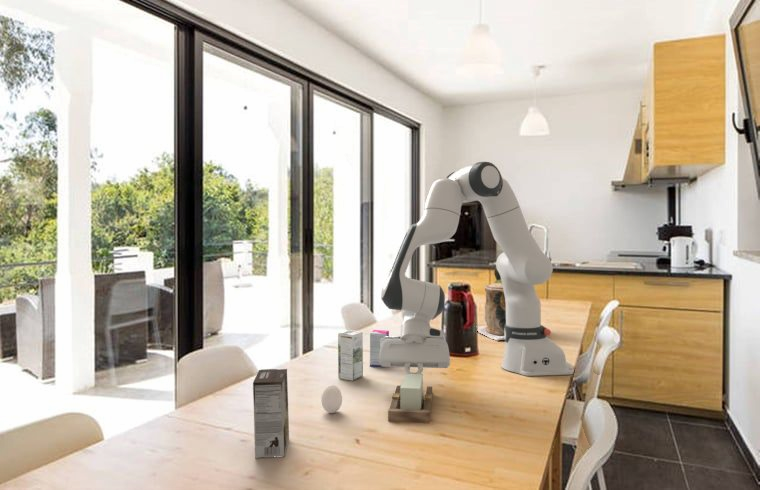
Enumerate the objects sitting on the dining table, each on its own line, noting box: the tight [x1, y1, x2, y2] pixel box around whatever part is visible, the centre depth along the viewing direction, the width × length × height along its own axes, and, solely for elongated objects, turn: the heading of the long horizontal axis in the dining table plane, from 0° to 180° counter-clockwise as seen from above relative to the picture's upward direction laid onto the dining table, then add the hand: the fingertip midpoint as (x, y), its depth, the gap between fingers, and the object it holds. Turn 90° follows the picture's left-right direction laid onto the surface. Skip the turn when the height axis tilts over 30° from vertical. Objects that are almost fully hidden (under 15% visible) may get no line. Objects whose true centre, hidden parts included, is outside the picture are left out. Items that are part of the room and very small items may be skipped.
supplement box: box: [369, 329, 390, 368], centre depth 167 cm, size 6×6×12 cm
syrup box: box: [337, 329, 364, 382], centre depth 153 cm, size 6×6×14 cm
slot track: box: [387, 385, 433, 424], centre depth 128 cm, size 10×20×3 cm, turn 172°
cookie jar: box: [477, 266, 506, 342], centre depth 211 cm, size 25×25×32 cm
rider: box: [399, 373, 424, 410], centre depth 128 cm, size 5×12×7 cm, turn 172°
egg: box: [320, 383, 343, 414], centre depth 124 cm, size 5×5×7 cm
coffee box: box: [252, 368, 290, 459], centre depth 105 cm, size 9×6×16 cm
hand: (413, 380), depth 134 cm, fingers closed
